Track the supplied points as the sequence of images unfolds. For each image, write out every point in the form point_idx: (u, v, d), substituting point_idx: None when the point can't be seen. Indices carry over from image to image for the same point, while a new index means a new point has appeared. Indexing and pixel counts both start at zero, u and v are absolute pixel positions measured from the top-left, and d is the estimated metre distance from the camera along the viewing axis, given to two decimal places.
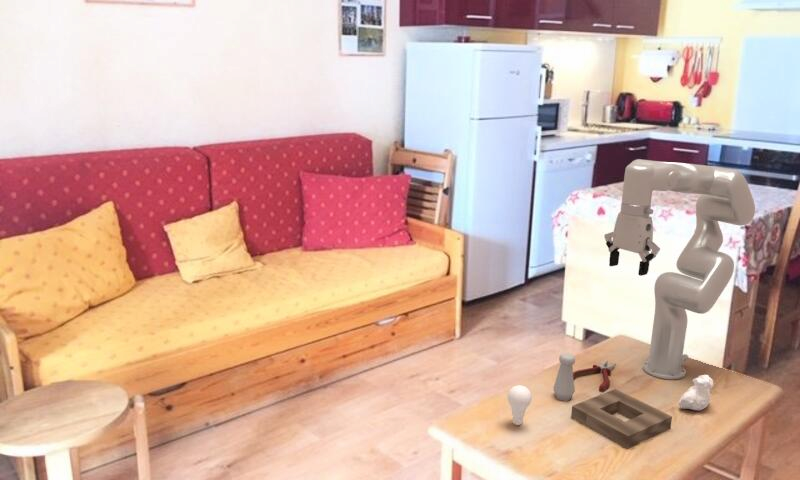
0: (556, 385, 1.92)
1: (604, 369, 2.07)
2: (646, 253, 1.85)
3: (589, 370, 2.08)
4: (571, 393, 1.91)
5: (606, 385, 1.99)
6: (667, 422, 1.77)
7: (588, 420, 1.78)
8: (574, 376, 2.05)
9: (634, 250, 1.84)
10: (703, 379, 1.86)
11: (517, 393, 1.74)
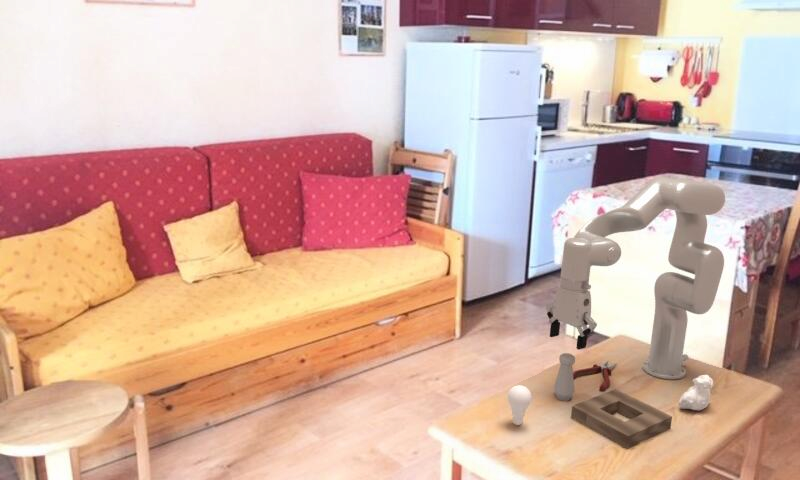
0: (556, 385, 1.92)
1: (604, 369, 2.08)
2: (584, 327, 1.85)
3: (590, 370, 2.08)
4: (571, 393, 1.91)
5: (607, 385, 1.99)
6: (667, 422, 1.77)
7: (588, 420, 1.78)
8: (575, 376, 2.05)
9: (572, 324, 1.84)
10: (703, 379, 1.86)
11: (517, 393, 1.74)
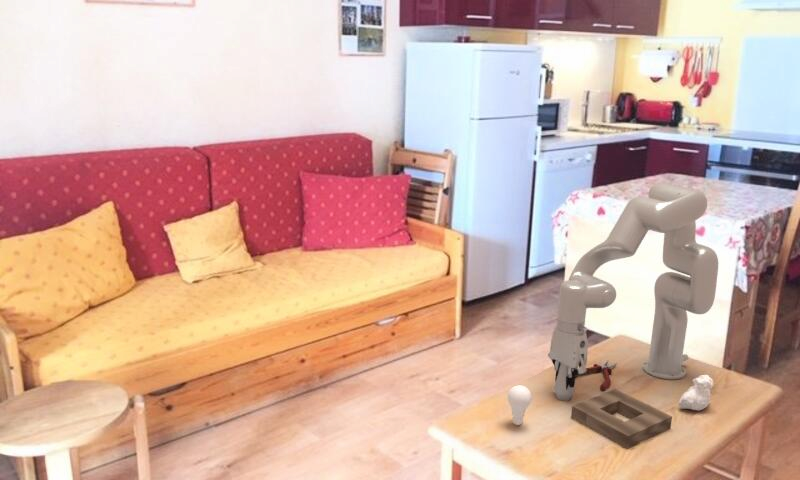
0: (556, 385, 1.92)
1: (605, 368, 2.08)
2: None
3: (590, 369, 2.08)
4: (571, 393, 1.91)
5: (607, 384, 1.99)
6: (667, 422, 1.77)
7: (588, 420, 1.78)
8: None
9: (569, 365, 1.88)
10: (703, 379, 1.86)
11: (517, 393, 1.74)
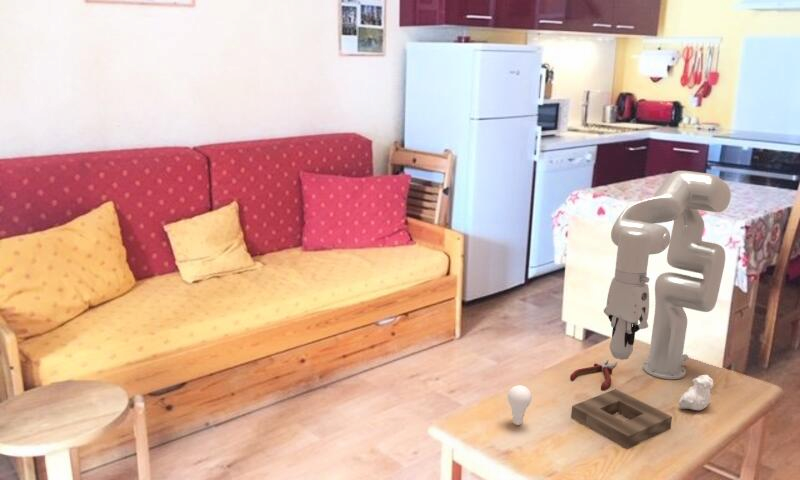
0: (613, 343, 1.76)
1: (605, 368, 2.09)
2: (634, 324, 1.74)
3: (590, 369, 2.09)
4: (629, 351, 1.75)
5: (608, 383, 2.00)
6: (667, 422, 1.77)
7: (588, 420, 1.78)
8: (576, 375, 2.05)
9: (629, 320, 1.71)
10: (703, 379, 1.86)
11: (517, 393, 1.74)
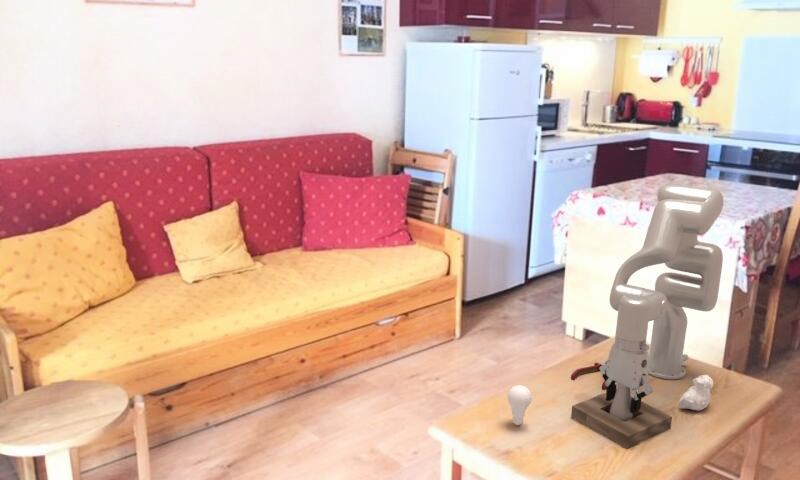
0: (613, 410, 1.79)
1: None
2: (639, 389, 1.75)
3: (591, 368, 2.09)
4: (629, 418, 1.78)
5: None
6: (667, 422, 1.77)
7: (588, 420, 1.78)
8: (577, 374, 2.06)
9: (629, 386, 1.74)
10: (703, 379, 1.86)
11: (517, 393, 1.74)
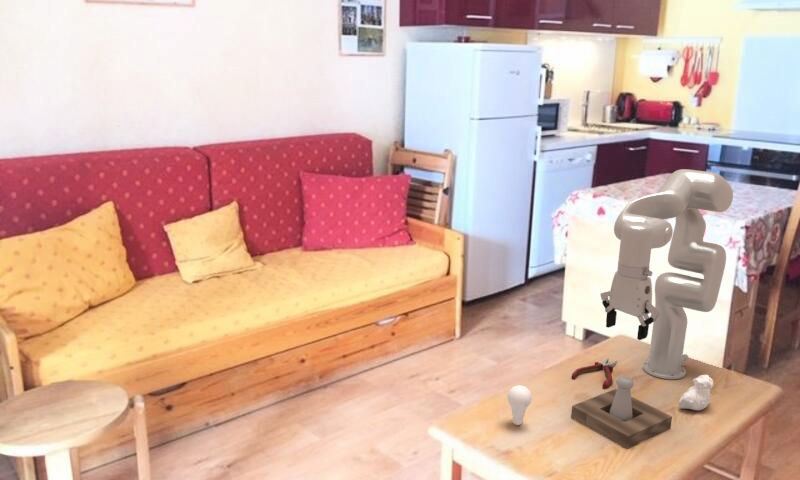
0: (613, 410, 1.79)
1: (606, 366, 2.10)
2: (645, 316, 1.74)
3: (591, 367, 2.09)
4: (629, 418, 1.78)
5: (609, 382, 2.01)
6: (667, 422, 1.77)
7: (588, 420, 1.78)
8: (577, 373, 2.06)
9: (632, 313, 1.73)
10: (703, 379, 1.86)
11: (517, 393, 1.74)
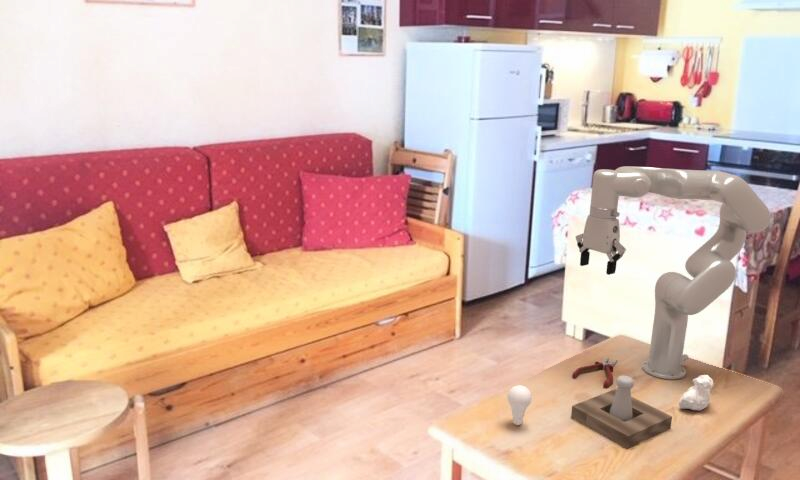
0: (613, 410, 1.79)
1: (607, 366, 2.10)
2: (613, 253, 1.96)
3: (592, 367, 2.10)
4: (629, 418, 1.78)
5: (610, 381, 2.01)
6: (667, 422, 1.77)
7: (588, 420, 1.78)
8: (578, 373, 2.07)
9: (602, 250, 1.96)
10: (703, 379, 1.86)
11: (517, 393, 1.74)
